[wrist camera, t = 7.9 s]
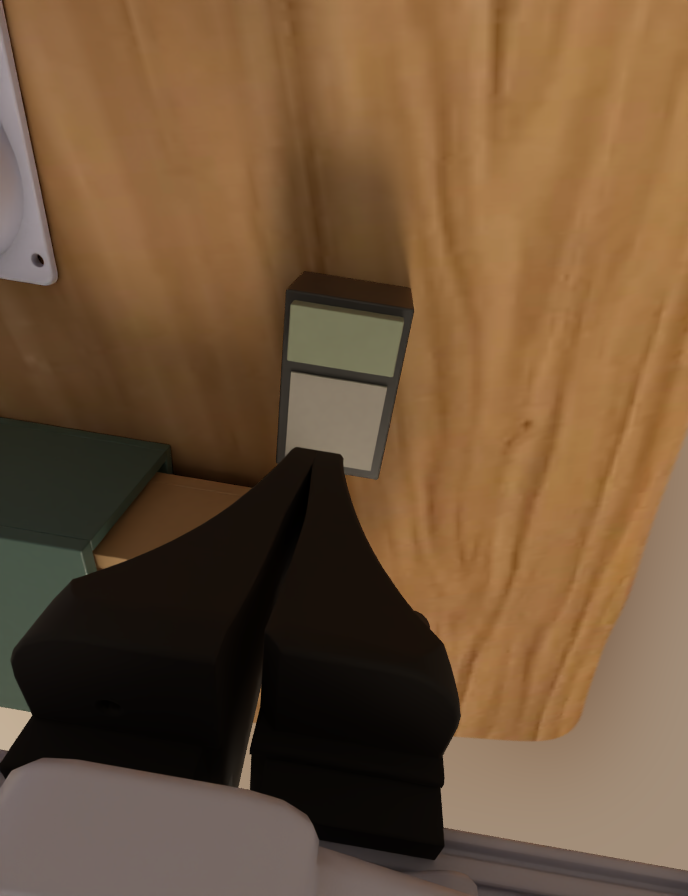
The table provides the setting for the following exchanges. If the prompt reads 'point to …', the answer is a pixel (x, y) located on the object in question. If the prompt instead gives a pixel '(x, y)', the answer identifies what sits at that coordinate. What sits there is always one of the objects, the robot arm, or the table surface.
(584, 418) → the table surface
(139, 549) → the drawer
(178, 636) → the robot arm
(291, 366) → the dark rectangular block
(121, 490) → the cabinet
